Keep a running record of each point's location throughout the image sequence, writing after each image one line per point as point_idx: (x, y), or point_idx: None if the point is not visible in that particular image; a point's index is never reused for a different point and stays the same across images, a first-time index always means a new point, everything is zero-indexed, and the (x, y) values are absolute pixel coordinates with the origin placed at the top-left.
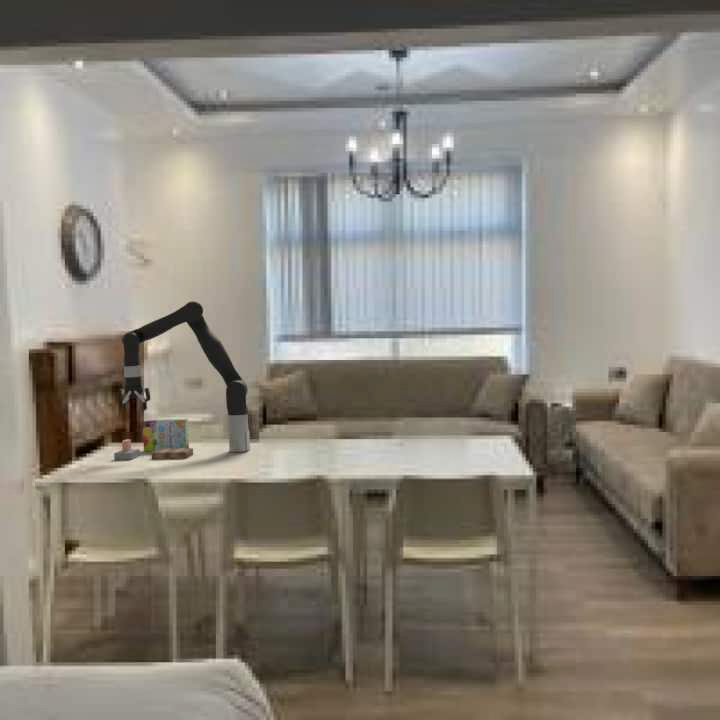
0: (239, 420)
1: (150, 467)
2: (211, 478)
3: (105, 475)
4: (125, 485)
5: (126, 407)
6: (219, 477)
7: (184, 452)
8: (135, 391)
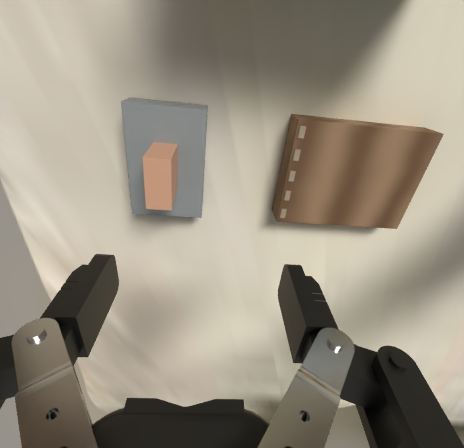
0: None
1: (282, 320)
2: None
3: (200, 376)
4: None
5: (102, 304)
6: None
7: (389, 227)
8: None
